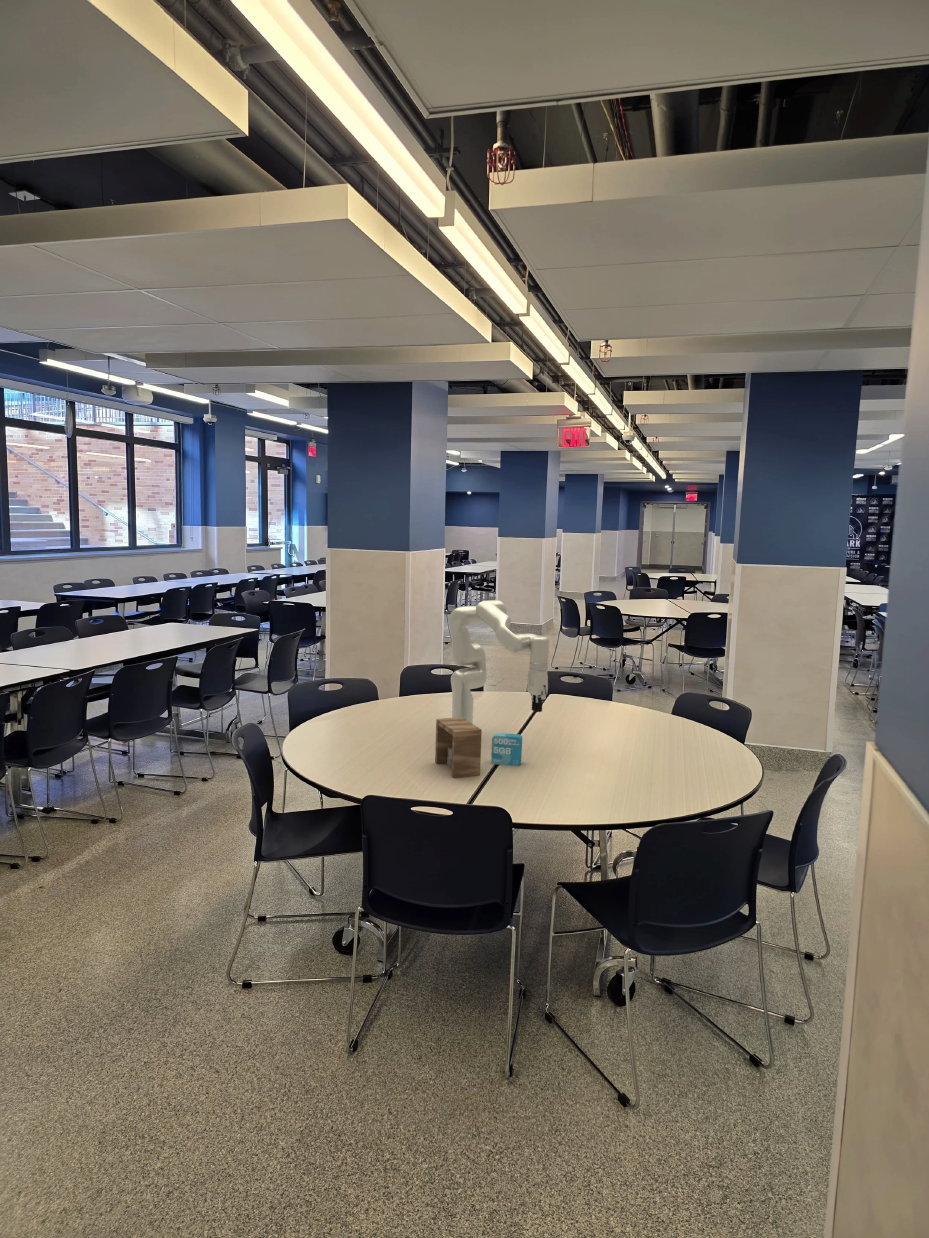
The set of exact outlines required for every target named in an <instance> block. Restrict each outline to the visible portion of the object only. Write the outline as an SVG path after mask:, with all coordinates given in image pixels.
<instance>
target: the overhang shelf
mask: <svg viewBox="0 0 929 1238" xmlns="http://www.w3.org/2000/svg"><path fill="white" fill-rule="evenodd" d="M482 733H483V731H482V729H481V727H478V726H476V725H475V724H474V723H473V724H472V723H470V722H469V721H467V720H466V719H464V718H462V717H455V718H452V717H442V718H436V721H435V749H434V750H435V751H434V753H435V754H434V756H435V757H434V763H435V764H437V765H439V764H441V765H442V764H447V766H448V767H450V769H451V778H453V779H459V778H467V777H468V778H469V777H475V776H476V777H477V776H481V761H482V760H481V757H482Z"/></svg>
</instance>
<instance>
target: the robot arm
mask: <svg viewBox="0 0 929 1238" xmlns="http://www.w3.org/2000/svg"><path fill="white" fill-rule="evenodd" d="M511 621H512V619H511V617H510V616H509V615H508V614H507V607H506V604H505V603H504V602H503V601H502V600H499V599H492V600H491V599H489V600H482V601H480V602H479V603H478V604H476V605H466V606H458V607H456V608H455V609H453V610H452V611H451V612H450V615H449V618H448V626H449V631H450V635H451V637H450V638H451V652H452V653H451V654H452V662H453V663H454V664H455V665H456V666H459V667H461V666H462V667H463V666H469V667H466V668H460V669H458V670H454V672H452V674H451V676H450V685H451V692H452V693H451V694H452V698H451V699H452V700H451V701H452V702H451V703H452V704H451V706H452V707H451V709H452V710H451V718H455V717H462V718H464V719H466V720H467V721H469V722H470V723H472V724H474V697H473V694H472V692H471V690H473V689H478V688H482V687H483V686H485V684H486V683H487V679H488V678H487V674H488V673H487V660H486V659H487V658H486V652H485V649H484V647H483V646H482V645H481V644H479V643H472V642H471V633H470V631H469V629H468V628H467V626H477V625H485V624H486V625H487V626H489V627H490V628H491V629H492V630H493V631H495V634H496V635H495V636H496V638H497V640H498V642H499V644H501V646H503V647H504V648H505V649H506V650H507V651H509V652H511V653H514V654H519V653H520V654H522V653H529V669H528V674H527V681H526V691H527V692H528V693H529V694H530V696H531V711H533V712H534V713H541V712H543V702H544V700H546V699H547V695H548V690H549V680H548V679H549V676H548V671H549V659H550V658H549V657H550V656H549V653H550V639H549V637H548V636H543V635H537V634H535V633H529V632H528V633H519V634H515V633H514V632H512V631H511V630H510V629H509V628H510V626H511V624H512V622H511Z"/></svg>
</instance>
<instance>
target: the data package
mask: <svg viewBox="0 0 929 1238" xmlns="http://www.w3.org/2000/svg"><path fill="white" fill-rule="evenodd" d="M522 752H523V736H522V735H521V734H519V733H506V732H505V733H503V732H495V733H494V734H493V735H492V738H491V752H490V754H491V756H490V757H491V759H490V761H491V764H493V765H505V766H520V765H521V764H522V756H523V755H522V754H523V753H522Z"/></svg>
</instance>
